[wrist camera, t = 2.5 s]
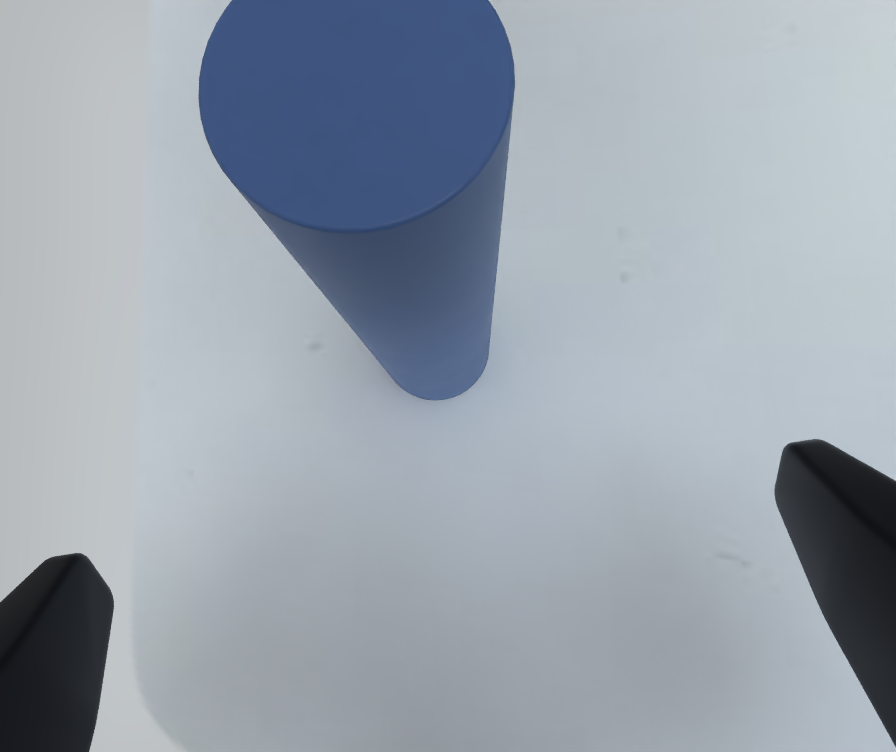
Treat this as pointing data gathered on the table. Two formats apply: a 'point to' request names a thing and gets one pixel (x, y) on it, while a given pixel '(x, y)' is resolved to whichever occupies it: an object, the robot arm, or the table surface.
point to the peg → (375, 163)
